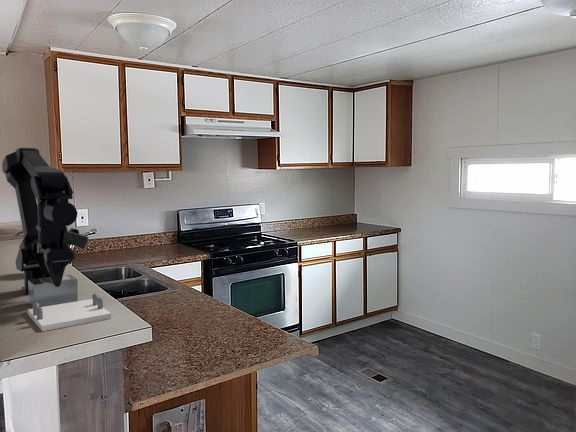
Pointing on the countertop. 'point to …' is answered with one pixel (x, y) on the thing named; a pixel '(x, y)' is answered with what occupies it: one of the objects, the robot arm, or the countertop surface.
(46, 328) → the tray
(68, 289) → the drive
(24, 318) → the countertop surface
